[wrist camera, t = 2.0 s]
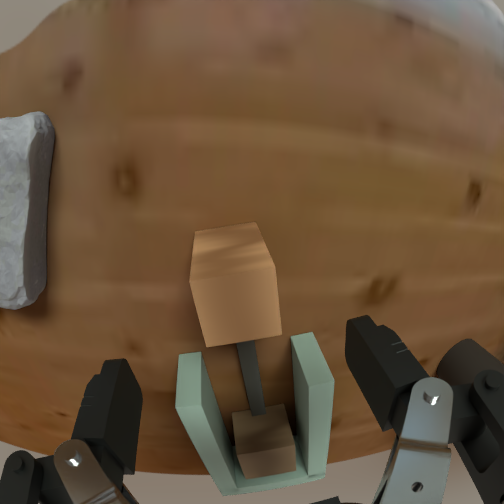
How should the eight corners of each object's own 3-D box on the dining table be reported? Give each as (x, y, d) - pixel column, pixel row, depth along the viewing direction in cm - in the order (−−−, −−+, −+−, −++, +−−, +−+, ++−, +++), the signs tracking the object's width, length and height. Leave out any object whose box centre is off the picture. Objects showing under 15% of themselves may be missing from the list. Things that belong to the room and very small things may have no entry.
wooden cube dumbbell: (264, 220, 18) (287, 265, 13) (286, 433, 27) (299, 484, 22) (186, 232, 18) (177, 283, 13) (240, 441, 27) (247, 493, 21)
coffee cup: (494, 332, 27) (546, 387, 17) (453, 388, 29) (495, 446, 20) (458, 321, 24) (522, 389, 15) (412, 386, 27) (458, 458, 18)
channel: (312, 331, 22) (334, 380, 18) (312, 439, 28) (324, 477, 24) (179, 354, 22) (175, 407, 17) (219, 455, 28) (222, 495, 23)
